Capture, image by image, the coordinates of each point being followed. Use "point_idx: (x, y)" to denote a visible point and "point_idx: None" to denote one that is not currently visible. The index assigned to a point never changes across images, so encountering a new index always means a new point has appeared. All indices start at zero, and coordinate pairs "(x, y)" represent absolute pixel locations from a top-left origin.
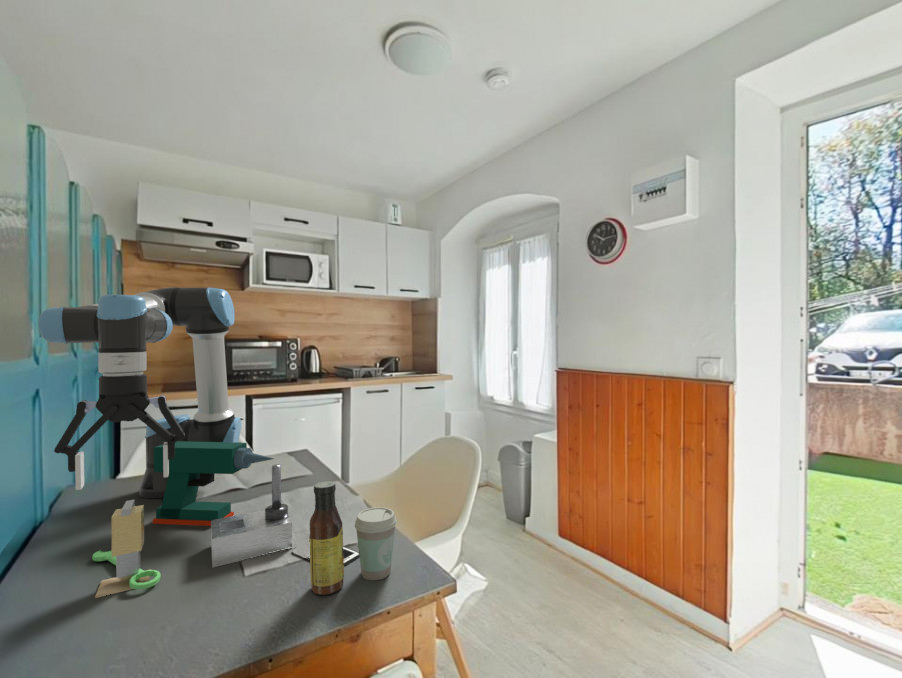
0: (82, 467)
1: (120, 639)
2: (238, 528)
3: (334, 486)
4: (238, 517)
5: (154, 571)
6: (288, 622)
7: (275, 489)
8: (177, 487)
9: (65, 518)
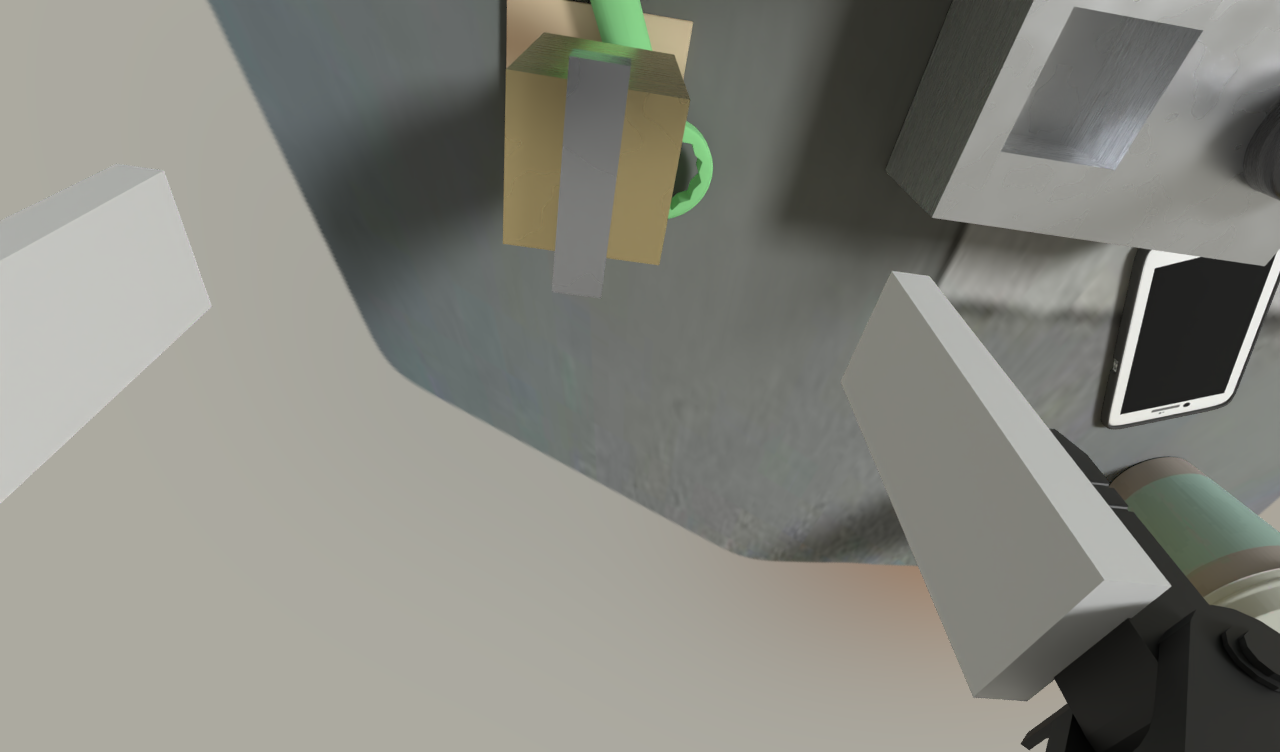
0: (16, 362)
1: (593, 397)
2: (1082, 168)
3: None
4: None
5: (695, 150)
6: (881, 520)
7: None
8: None
9: None
